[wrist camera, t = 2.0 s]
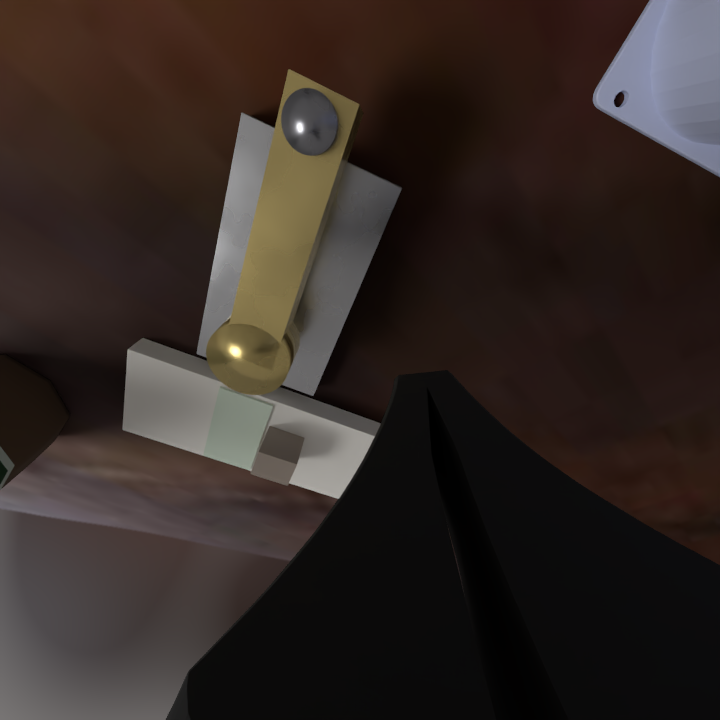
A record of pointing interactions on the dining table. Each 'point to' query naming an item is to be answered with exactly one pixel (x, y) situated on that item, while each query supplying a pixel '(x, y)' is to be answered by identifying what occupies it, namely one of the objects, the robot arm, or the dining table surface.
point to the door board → (242, 422)
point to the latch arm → (284, 236)
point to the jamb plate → (331, 263)
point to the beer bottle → (26, 417)
